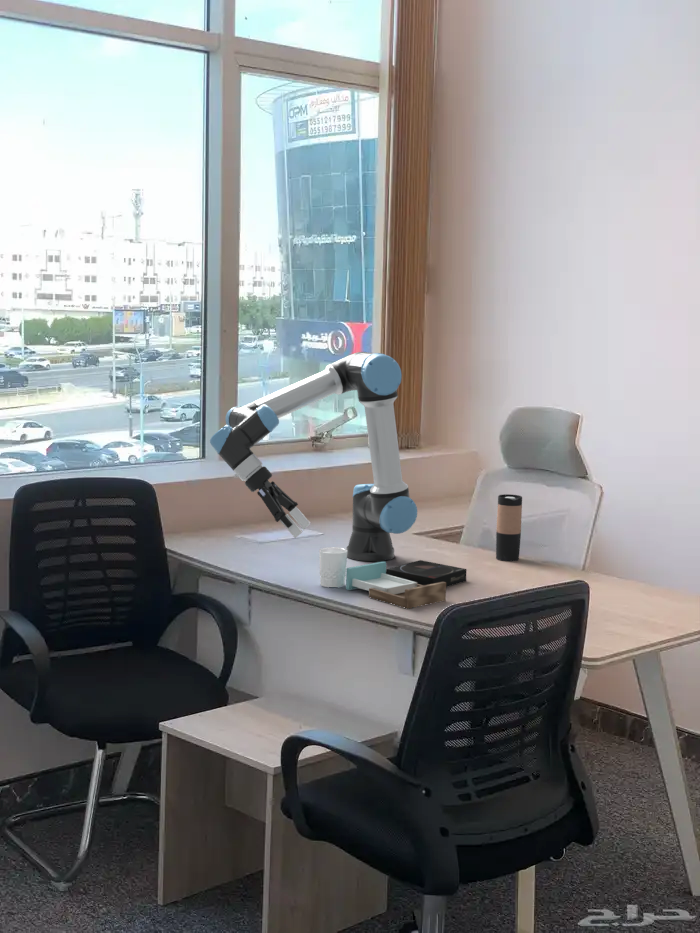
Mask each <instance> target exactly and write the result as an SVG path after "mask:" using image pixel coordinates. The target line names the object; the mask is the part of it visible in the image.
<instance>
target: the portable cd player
mask: <svg viewBox="0 0 700 933" xmlns="http://www.w3.org/2000/svg"><path fill="white" fill-rule="evenodd" d="M386 574H388V575H391V576H395V577H399V578H402V579H406V580H410V581H413V582H417V584H420V585H429V584H434V583H439V582H446V588H449V587H451V586H454V585H458V584H461V583H464V582H467V568H463V567H457V566H453V565H447V564H442V563H436V562H432V561H427V560H421V559H419V560H416V561H412V562H407V563H405V564H401V565H397V566H393V567H389V568H386Z"/></svg>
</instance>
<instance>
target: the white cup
mask: <svg viewBox="0 0 700 933" xmlns="http://www.w3.org/2000/svg"><path fill="white" fill-rule="evenodd" d="M318 552H319V554H318V555H319V556H318V558H319V559H318V560H319V576H320V578H319V579H320V580H319V582H320V586H321V587H323V588H329V587H338V588H343V587H344V586H345V585H346V581H345V580H346V571H347V566H348V565H347V562H348V557H347V550H346V548H343V547H323V548H320V549H319V551H318ZM342 586H343V587H342Z"/></svg>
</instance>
